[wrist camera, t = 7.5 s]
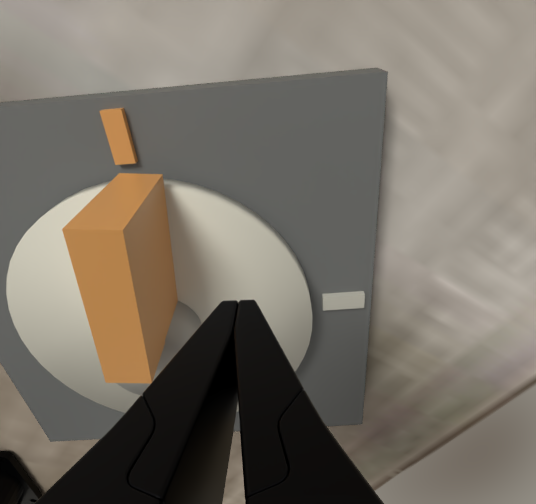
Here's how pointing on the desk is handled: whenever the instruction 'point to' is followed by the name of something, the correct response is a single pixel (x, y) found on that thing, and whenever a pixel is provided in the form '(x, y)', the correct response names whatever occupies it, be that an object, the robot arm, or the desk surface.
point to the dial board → (225, 182)
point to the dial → (145, 281)
